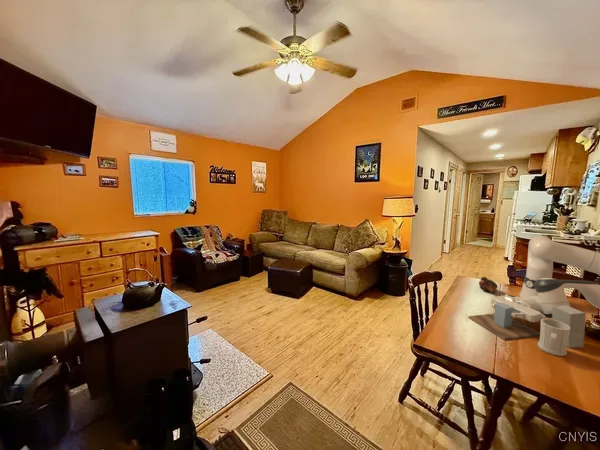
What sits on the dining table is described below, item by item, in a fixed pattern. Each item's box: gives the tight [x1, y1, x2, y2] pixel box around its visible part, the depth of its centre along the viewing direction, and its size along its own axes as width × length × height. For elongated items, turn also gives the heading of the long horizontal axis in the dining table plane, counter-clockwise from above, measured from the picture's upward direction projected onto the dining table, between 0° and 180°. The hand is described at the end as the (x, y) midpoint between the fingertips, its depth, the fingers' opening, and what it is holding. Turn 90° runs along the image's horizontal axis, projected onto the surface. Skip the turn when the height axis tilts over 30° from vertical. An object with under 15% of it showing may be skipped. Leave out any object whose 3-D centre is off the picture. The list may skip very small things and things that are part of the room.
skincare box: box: [551, 305, 586, 349], centre depth 110 cm, size 8×7×16 cm
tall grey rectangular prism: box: [493, 303, 514, 328], centre depth 124 cm, size 5×5×10 cm
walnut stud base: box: [467, 313, 540, 341], centre depth 124 cm, size 20×20×7 cm
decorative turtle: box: [478, 276, 498, 294], centre depth 166 cm, size 10×15×8 cm, turn 174°
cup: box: [537, 318, 571, 357], centre depth 105 cm, size 10×9×12 cm
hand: (502, 310), depth 123 cm, fingers open, 8 cm apart
